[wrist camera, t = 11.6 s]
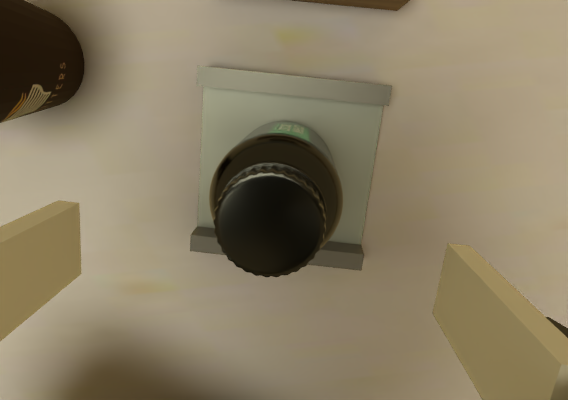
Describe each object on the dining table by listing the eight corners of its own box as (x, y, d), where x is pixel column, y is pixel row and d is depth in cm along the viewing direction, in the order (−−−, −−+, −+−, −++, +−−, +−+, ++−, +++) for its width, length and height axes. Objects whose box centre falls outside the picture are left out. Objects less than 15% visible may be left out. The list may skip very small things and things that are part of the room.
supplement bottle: (281, 97, 28) (263, 108, 16) (354, 167, 29) (386, 224, 17) (215, 171, 29) (156, 228, 18) (286, 234, 30) (274, 327, 19)
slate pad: (357, 256, 31) (361, 270, 29) (198, 238, 31) (190, 250, 29) (384, 85, 28) (392, 85, 25) (206, 67, 28) (197, 65, 26)
